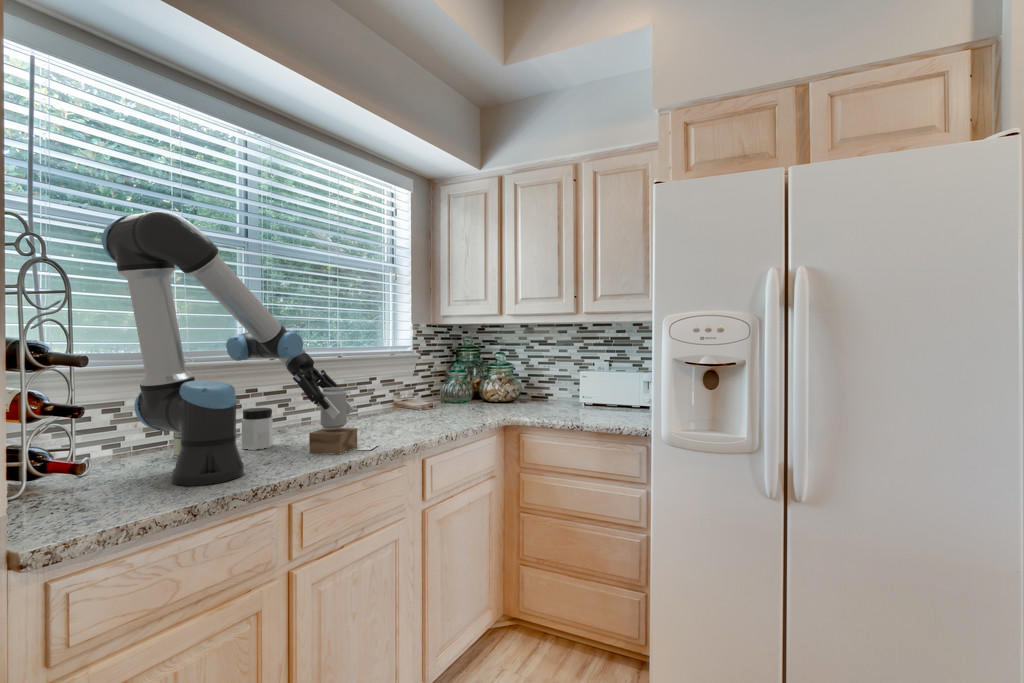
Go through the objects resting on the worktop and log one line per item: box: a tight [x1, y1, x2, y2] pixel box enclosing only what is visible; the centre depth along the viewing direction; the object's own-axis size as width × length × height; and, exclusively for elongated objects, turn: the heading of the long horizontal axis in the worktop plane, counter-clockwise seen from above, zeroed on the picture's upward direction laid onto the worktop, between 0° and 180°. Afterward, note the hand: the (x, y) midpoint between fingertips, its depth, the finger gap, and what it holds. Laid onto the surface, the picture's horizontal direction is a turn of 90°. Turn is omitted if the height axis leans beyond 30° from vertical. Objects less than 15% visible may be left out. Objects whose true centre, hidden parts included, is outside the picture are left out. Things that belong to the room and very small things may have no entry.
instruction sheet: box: [362, 444, 380, 448], centre depth 158 cm, size 8×5×1 cm, turn 176°
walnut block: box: [308, 427, 358, 455], centre depth 155 cm, size 10×10×6 cm
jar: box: [241, 407, 274, 451], centre depth 160 cm, size 9×8×12 cm
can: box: [320, 386, 348, 429], centre depth 155 cm, size 8×8×12 cm
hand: (343, 413), depth 154 cm, fingers closed on can, 7 cm apart
